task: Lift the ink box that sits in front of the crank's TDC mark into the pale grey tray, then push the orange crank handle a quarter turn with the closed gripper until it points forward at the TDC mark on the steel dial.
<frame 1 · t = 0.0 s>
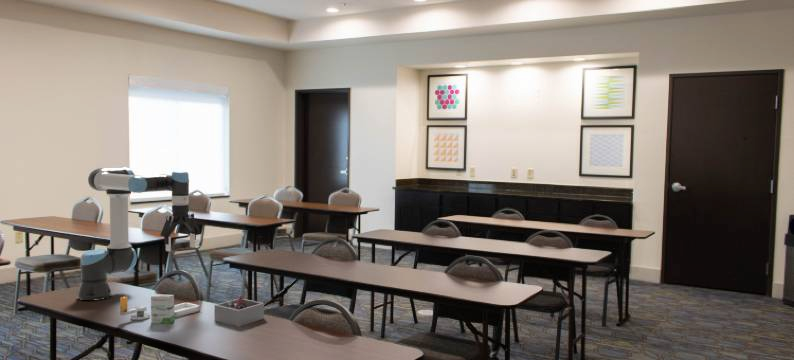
hand: (180, 249, 290), 28 cm above the table, fingers open, 13 cm apart
ink box: (162, 322, 268), on the table
crank: (133, 303, 270), point 7 cm above the table, hinge at 0.0°
parts crate: (239, 319, 274), on the table
tray: (180, 312, 283), on the table
crank base: (140, 317, 274), on the table
brake caliper: (239, 320, 274), resting in parts crate
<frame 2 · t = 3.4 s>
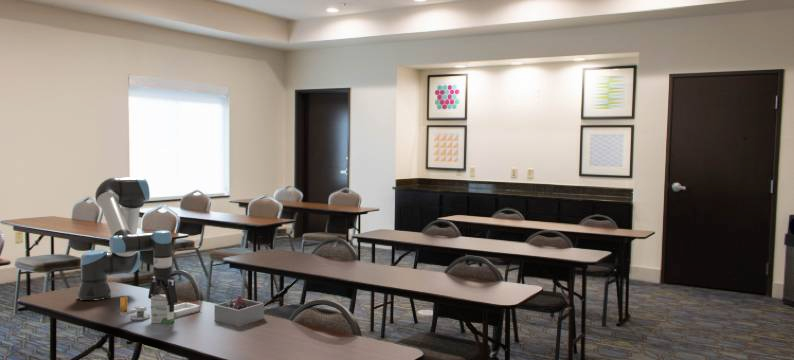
hand: (162, 317, 268), 2 cm above the table, fingers closed on ink box, 9 cm apart
ink box: (162, 322, 269), on the table, touching gripper
when the fingers open (4 cm above the table, at t = 8.1 s): ink box stays where it is, resting on tray.
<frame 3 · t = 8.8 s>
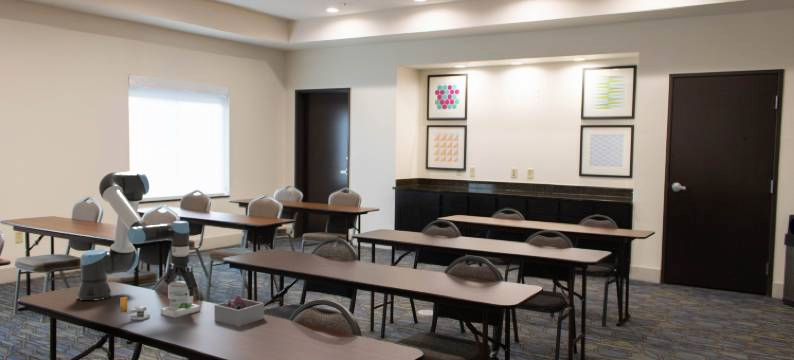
hand: (180, 300, 283), 6 cm above the table, fingers open, 13 cm apart
ink box: (180, 307, 283), point 2 cm above the table, touching tray
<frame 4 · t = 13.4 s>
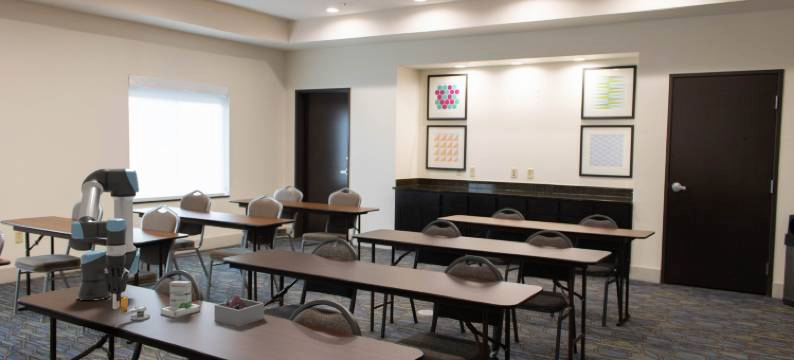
hand: (116, 308, 267), 6 cm above the table, fingers closed
crank: (133, 303, 270), point 7 cm above the table, hinge at 1.3°, touching gripper
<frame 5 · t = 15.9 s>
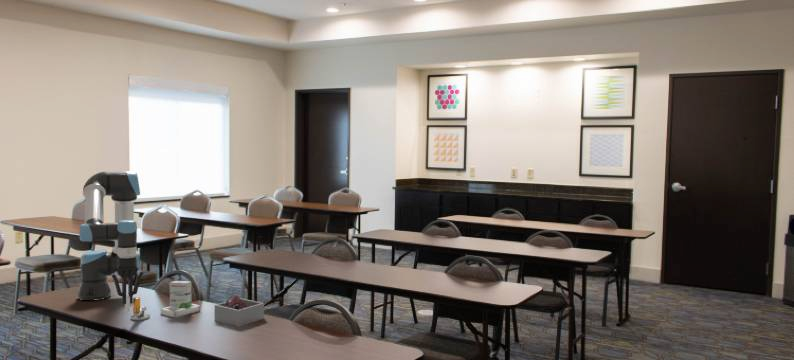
hand: (127, 311, 263), 6 cm above the table, fingers closed
crank: (138, 304, 270), point 7 cm above the table, hinge at 44.7°, touching gripper
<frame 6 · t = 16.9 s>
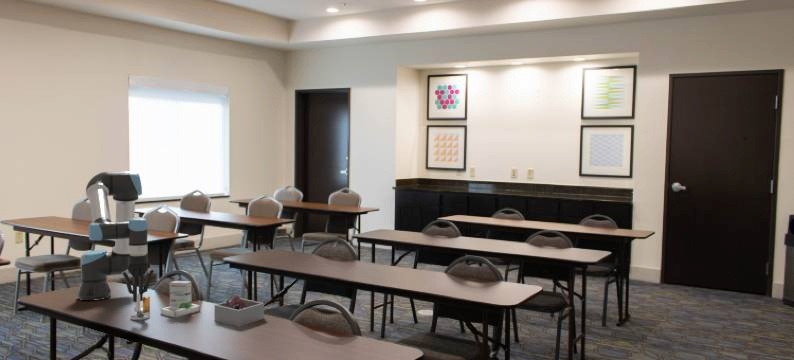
hand: (137, 308, 265), 6 cm above the table, fingers closed
crank: (142, 303, 271), point 7 cm above the table, hinge at 72.8°, touching gripper
brake caliper: (235, 319, 275), resting in parts crate
everything else where it was.
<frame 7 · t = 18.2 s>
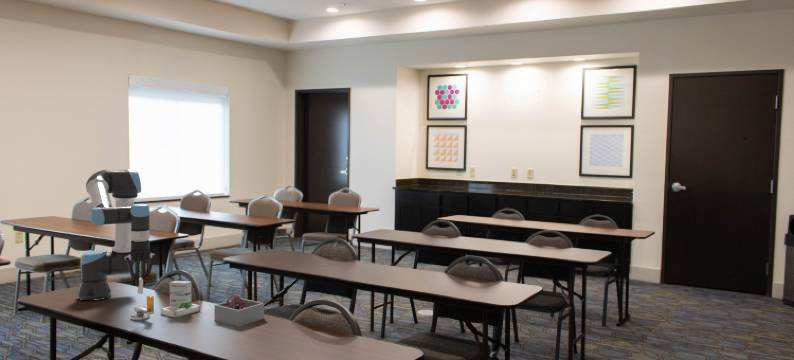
hand: (140, 293, 268), 12 cm above the table, fingers closed
crank: (144, 303, 271), point 7 cm above the table, hinge at 85.4°
brake caliper: (235, 319, 275), resting in parts crate
everything else where it was.
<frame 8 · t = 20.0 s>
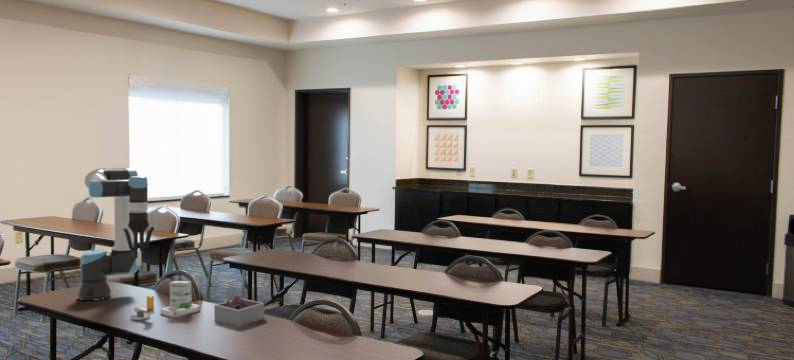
hand: (138, 265, 270), 24 cm above the table, fingers closed
nothing on the table moved.
at the end: ink box inside the target area on the tray (0.0 cm from its centre), point 2.3 cm above the tray's base; crank at +85° (first picture: +0°); the gripper is holding nothing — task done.
